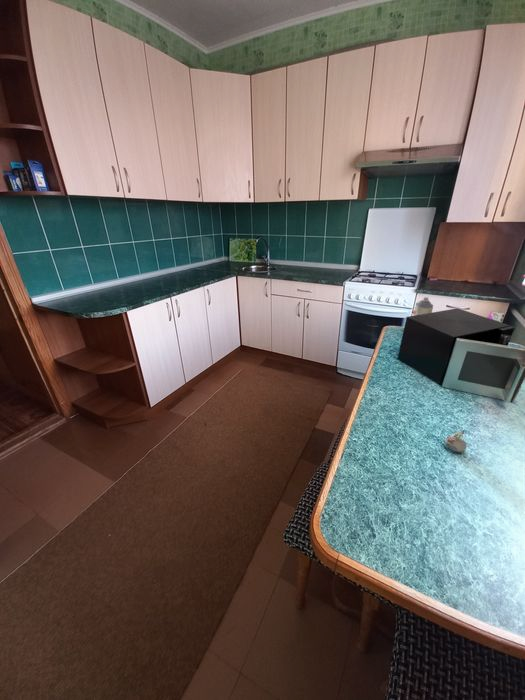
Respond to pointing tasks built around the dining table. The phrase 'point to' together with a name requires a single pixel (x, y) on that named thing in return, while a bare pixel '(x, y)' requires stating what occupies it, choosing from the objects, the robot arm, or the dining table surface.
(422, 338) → the oven
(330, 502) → the dining table surface
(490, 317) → the candy bar box
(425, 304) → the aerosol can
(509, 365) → the oven door
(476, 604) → the dining table surface
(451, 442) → the figurine
